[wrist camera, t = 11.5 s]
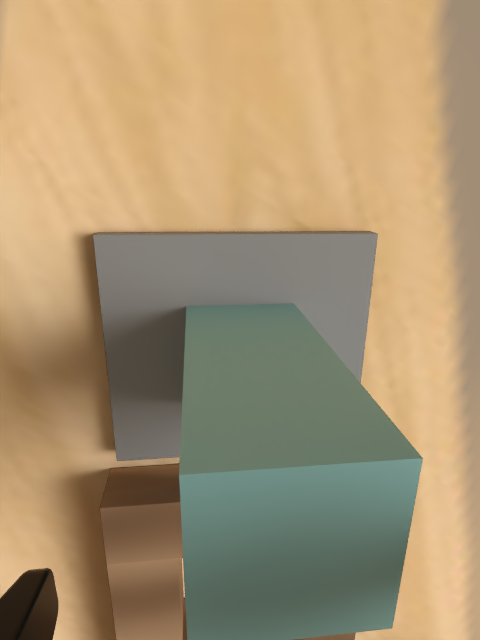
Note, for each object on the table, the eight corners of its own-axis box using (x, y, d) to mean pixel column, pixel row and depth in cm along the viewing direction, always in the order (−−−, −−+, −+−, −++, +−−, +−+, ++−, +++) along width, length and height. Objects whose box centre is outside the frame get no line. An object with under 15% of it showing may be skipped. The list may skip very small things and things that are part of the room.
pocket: (335, 621, 25) (350, 668, 22) (130, 643, 23) (123, 696, 21) (355, 452, 21) (375, 487, 18) (110, 468, 19) (99, 508, 17)
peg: (288, 397, 18) (392, 628, 9) (190, 402, 18) (187, 652, 8) (293, 303, 17) (423, 458, 7) (186, 306, 16) (179, 475, 7)
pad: (347, 436, 20) (353, 446, 20) (119, 449, 19) (116, 461, 18) (369, 231, 17) (377, 233, 16) (97, 232, 16) (93, 235, 15)
